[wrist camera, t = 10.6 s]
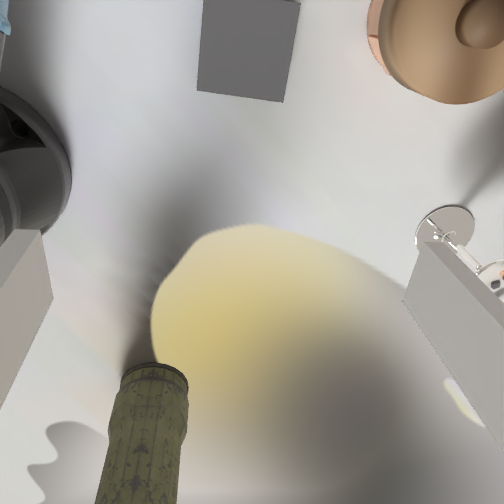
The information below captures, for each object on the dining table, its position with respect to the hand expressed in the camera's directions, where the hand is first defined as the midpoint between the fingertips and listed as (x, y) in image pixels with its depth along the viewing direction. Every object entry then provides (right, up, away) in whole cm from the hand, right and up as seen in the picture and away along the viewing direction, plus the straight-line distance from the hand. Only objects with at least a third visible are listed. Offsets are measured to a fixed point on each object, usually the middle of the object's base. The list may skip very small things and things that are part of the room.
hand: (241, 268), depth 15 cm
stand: (0, +18, +19) cm, 26 cm away
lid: (+14, +17, +15) cm, 27 cm away
